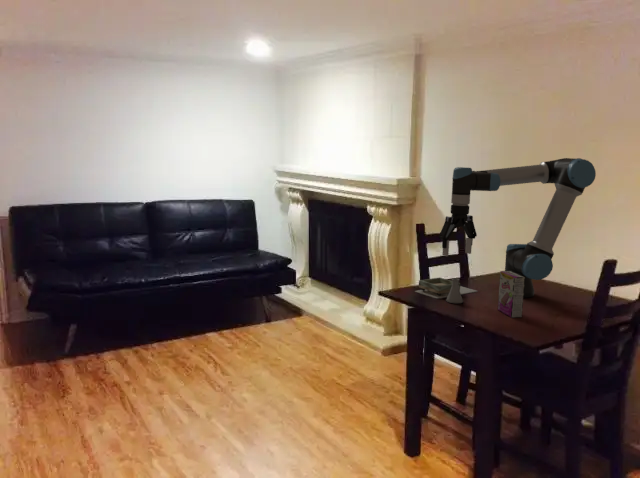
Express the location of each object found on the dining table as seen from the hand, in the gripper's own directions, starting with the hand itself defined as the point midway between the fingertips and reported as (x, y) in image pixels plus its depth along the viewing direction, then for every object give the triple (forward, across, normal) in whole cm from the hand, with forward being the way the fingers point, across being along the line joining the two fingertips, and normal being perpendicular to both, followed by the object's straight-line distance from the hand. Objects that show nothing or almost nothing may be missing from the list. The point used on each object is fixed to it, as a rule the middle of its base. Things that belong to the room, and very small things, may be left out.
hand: (456, 254), depth 245 cm
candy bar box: (+21, -6, +24) cm, 32 cm away
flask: (+21, 0, 0) cm, 21 cm away
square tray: (+20, -5, -14) cm, 25 cm away
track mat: (+20, -10, -14) cm, 27 cm away
